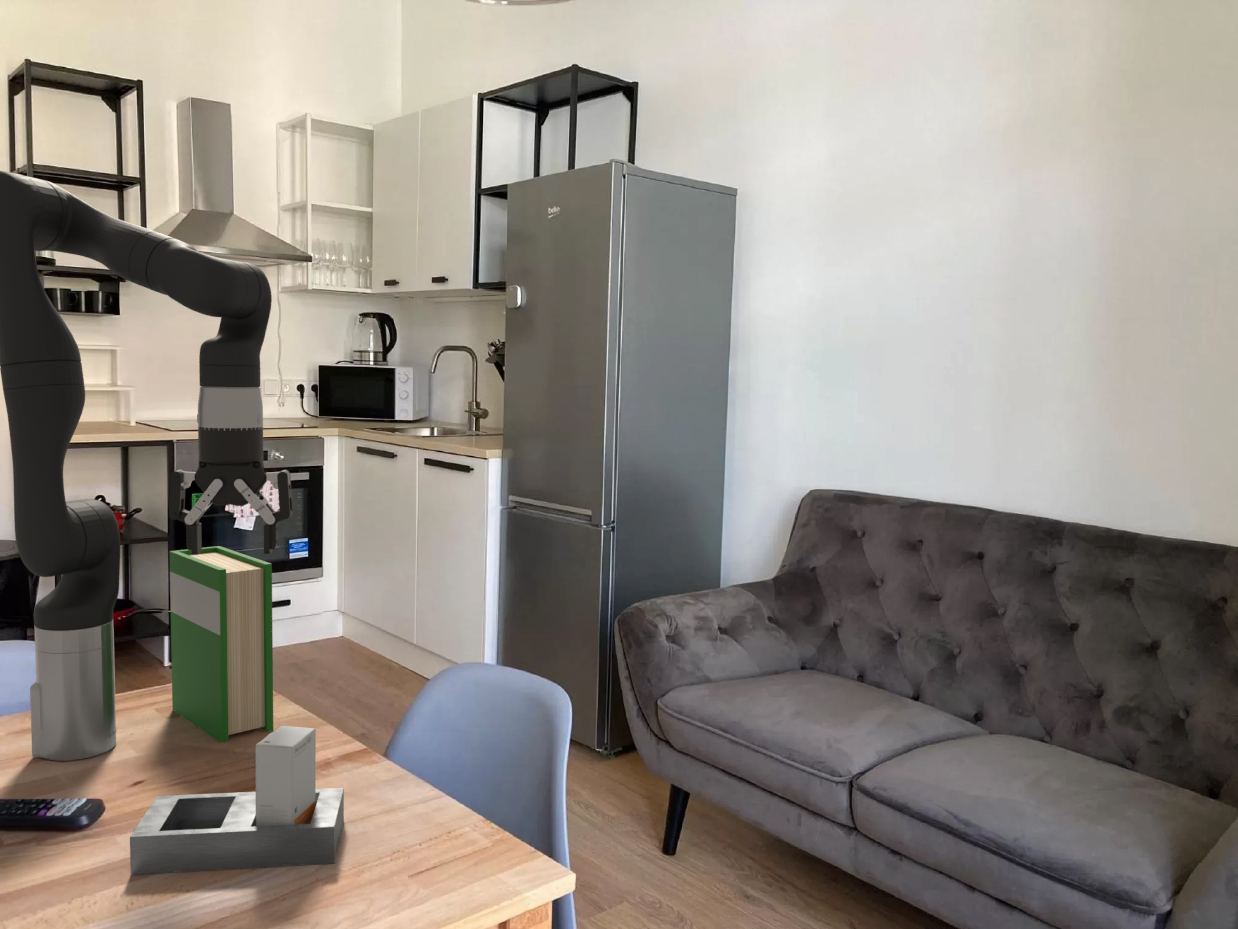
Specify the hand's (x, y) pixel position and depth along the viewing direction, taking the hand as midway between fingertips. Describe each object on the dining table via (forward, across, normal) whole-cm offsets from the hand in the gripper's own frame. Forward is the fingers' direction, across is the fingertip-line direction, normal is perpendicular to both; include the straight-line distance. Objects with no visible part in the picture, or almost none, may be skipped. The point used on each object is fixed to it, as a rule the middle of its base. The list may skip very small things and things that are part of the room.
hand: (232, 553), depth 128 cm
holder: (+28, -5, +22) cm, 36 cm away
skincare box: (+28, -10, +22) cm, 37 cm away
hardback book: (+28, +6, -20) cm, 35 cm away
